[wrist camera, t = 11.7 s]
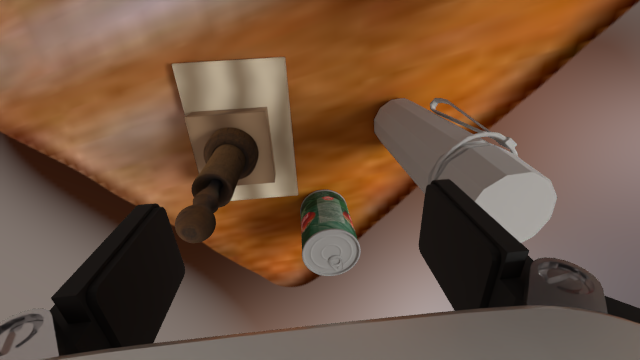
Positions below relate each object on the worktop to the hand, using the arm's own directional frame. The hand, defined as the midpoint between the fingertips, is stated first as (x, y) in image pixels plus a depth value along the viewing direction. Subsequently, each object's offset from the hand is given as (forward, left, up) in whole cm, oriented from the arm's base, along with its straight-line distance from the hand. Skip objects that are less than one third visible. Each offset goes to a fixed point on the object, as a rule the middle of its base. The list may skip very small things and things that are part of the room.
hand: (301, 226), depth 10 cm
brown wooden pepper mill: (+9, +7, -28) cm, 30 cm away
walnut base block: (+9, +7, -31) cm, 33 cm away
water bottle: (-15, +5, -32) cm, 36 cm away
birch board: (+8, +6, -32) cm, 34 cm away
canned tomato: (-3, +20, -32) cm, 38 cm away
